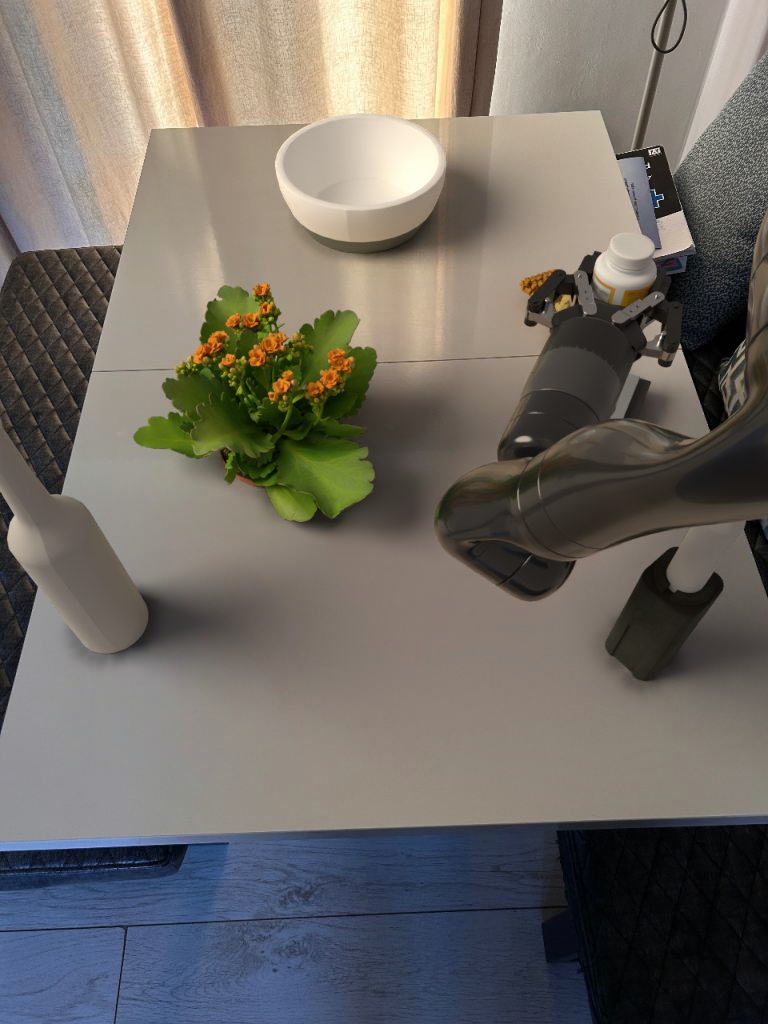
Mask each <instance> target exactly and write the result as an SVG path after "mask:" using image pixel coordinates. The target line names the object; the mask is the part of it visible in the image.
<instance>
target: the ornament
mask: <svg viewBox="0 0 768 1024" xmlns="http://www.w3.org/2000/svg"><path fill="white" fill-rule="evenodd" d="M555 270H557V268H554V269H552V270H551V269H548V270H547V271H543V272H541V273H537V274H536V275H531V276H528V277H524V280H521V281H520V282H519V286H520V288H521V289H520V290H521V291H522V292H523V293H524V294H527V295H528V297H529V298H530V297H531V296H532V295H533V294H534V293H535V291H536V290H537V289H538V288H539V287H540V286H541V285H542V284H543V283H544V282H545V280H546V279H547V278H548V277H549V276H550V275H551V274H552V273H553V272H554V271H555ZM568 307H571V304H570V298H569V295H562V296H561V297H560V298H559V300H558V301H557V302H556V303H555V304H554V305H553V309H555V310H556V312H558V311H561V310H563V309H566V308H568ZM553 309H552V310H553Z"/></svg>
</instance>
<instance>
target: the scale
mask: <svg viewBox="0 0 768 1024" xmlns="http://www.w3.org/2000/svg"><path fill="white" fill-rule="evenodd" d="M651 384H652V381H651V380H648V379H645V378H642V377H641V376H638V375H635V374H632V373H629V375H628V377H627V380H626V382H625V384H624V387H623V389H622V392H621V394H620V397H619V399H618V402H617V404H616V405H617V406H616V410H615V412H614V413H613V415H612V416H611V418H610V419H619V418H622V419H637V420H638V417H639V414H640V413H641V409H642V407H643V404H644V402H645V400H646V396H647V395H648V392H649V389H650V386H651Z"/></svg>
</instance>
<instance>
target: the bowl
mask: <svg viewBox="0 0 768 1024" xmlns="http://www.w3.org/2000/svg"><path fill="white" fill-rule="evenodd" d="M447 162H448V157H447V154H446V150H445V148H444V145H443V144H442V143H441V141H440V140H439V138H438V137H436V136H435V134H433V133H432V132H431V131H429V130H428V129H426V128H425V127H423V126H421V125H420V124H418V123H416V122H413V121H411V120H408V119H405V118H402V117H397V116H394V115H389V114H381V113H365V112H364V113H361V112H360V113H348V114H347V113H346V114H340V115H335V116H330V117H326V118H322V119H320V120H317V121H314V122H312V123H309V124H308V125H306V126H303V127H301V128H300V129H298V130H297V131H296V132H294V133H292V134H291V135H290V136H289V137H288V138H287V139H286V140H285V141H284V142H283V143H282V144H281V146H280V148H279V150H278V151H277V153H276V157H275V161H274V166H275V175H276V179H277V182H278V187H279V190H280V193H281V195H282V197H283V199H284V201H285V203H286V205H287V206H288V208H289V210H290V212H291V213H292V216H293V217H294V218H295V219H296V221H298V223H299V224H300V225H301V226H302V227H303V228H304V230H306V232H307V233H308V234H309V236H310V237H311V238H312V239H314V240H315V241H317V242H318V243H319V244H322V245H323V246H325V247H328V248H329V249H332V250H337V251H339V252H345V253H352V254H367V253H378V252H382V251H386V250H390V249H393V248H395V247H398V246H400V245H402V244H404V243H406V242H407V241H409V240H410V239H412V238H413V237H414V236H415V235H416V234H417V233H418V231H419V230H420V229H421V227H422V226H423V224H424V223H425V222H426V220H427V219H428V217H429V216H430V215H431V213H432V212H433V211H434V209H435V207H436V204H437V202H438V200H439V199H440V195H441V193H442V190H443V188H444V185H445V179H446V172H447V168H448V167H447V166H448V163H447Z"/></svg>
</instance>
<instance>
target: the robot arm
mask: <svg viewBox="0 0 768 1024" xmlns="http://www.w3.org/2000/svg"><path fill="white" fill-rule="evenodd" d="M762 217H763V218H762V220H761V223H760V227H759V230H758V232H757V236H756V240H755V244H754V248H753V253H752V260H751V266H750V273H749V282H748V299H747V313H746V315H747V316H746V328H745V329H746V330H745V344H744V361H743V393H744V400H743V402H742V404H741V405H740V407H739V408H738V409H737V410H736V411H734V413H733V414H731V415H730V416H729V417H728V418H727V419H726V420H725V421H724V422H722V423H721V424H719V425H718V426H717V427H715V428H714V429H712V430H711V431H709V432H707V433H705V434H704V435H702V436H700V437H699V438H697V437H692V436H689V435H687V434H684V433H680V432H678V431H674V430H672V429H670V428H667V427H665V426H663V425H660V424H656V423H652V422H649V421H646V420H642V419H638V418H637V419H622V418H619V419H610V418H611V416H612V415H613V413H614V412H615V410H616V406H617V405H616V404H617V402H618V399H619V397H620V394H621V392H622V389H623V387H624V384H625V382H626V380H627V377H628V375H629V374H630V372H631V370H632V367H633V364H634V363H635V362H637V361H639V360H640V359H641V358H642V357H648V358H652V359H653V358H654V359H657V365H658V366H660V367H662V368H665V369H666V368H670V367H671V366H672V365H673V362H674V361H675V360H674V359H675V357H676V355H677V352H678V350H679V347H680V345H681V337H682V325H683V323H682V322H683V312H684V311H683V310H684V305H683V304H682V303H681V302H679V301H677V300H676V301H675V300H673V301H668V300H667V298H666V296H667V294H668V292H669V289H670V286H671V283H672V276H669V275H667V272H668V269H665V268H661V267H659V269H658V270H657V274H656V277H655V281H654V283H653V286H652V288H651V290H650V293H649V295H648V296H647V297H645V298H644V299H643V300H641V299H638V300H636V301H635V302H633V303H632V304H630V305H629V306H627V307H624V306H620V305H613V304H609V303H607V302H605V301H603V300H599V299H596V298H593V293H592V287H591V285H590V282H591V278H592V274H593V270H594V266H595V263H596V260H597V258H598V257H599V256H600V255H601V254H602V253H603V252H601V251H598V250H594V251H593V253H592V254H589V253H588V254H586V255H585V256H584V257H583V258H582V261H581V262H580V265H579V267H578V268H577V270H575V271H574V272H573V273H571V274H568V273H567V272H566V270H564V269H562V268H558V269H557V268H556V269H557V270H555V271H554V272H553V273H552V274H551V275H550V276H549V277H548V278H547V279H546V280H545V282H544V283H543V284H542V285H541V286H540V287H539V288H538V289H537V290H536V291H535V293H534V294H533V295H532V296H531V297H530V296H529V298H528V299H527V302H526V307H525V313H524V319H523V324H524V325H525V326H526V327H529V328H533V327H535V326H537V325H538V324H540V325H542V326H544V327H547V328H548V330H549V335H548V337H547V339H546V341H545V344H544V346H543V347H542V349H541V351H540V353H539V355H538V356H537V359H536V361H535V363H534V365H533V367H532V369H531V370H530V373H529V375H528V377H527V379H526V381H525V383H524V386H523V388H522V391H521V395H520V398H519V402H518V403H517V405H516V407H515V409H514V412H513V414H512V416H511V417H510V419H509V420H508V423H507V425H506V427H505V429H504V431H503V433H502V435H501V437H500V440H499V443H498V445H497V448H496V449H497V450H496V459H497V461H495V462H491V463H490V462H489V463H487V464H483V465H480V466H477V467H476V468H474V469H472V470H470V471H468V472H467V473H465V474H463V475H462V476H460V477H459V478H458V479H457V480H455V481H454V482H453V483H452V484H451V485H450V486H449V487H448V489H446V491H445V492H444V494H443V495H442V497H441V499H440V501H439V502H438V504H437V507H436V509H435V513H434V517H433V529H434V534H435V537H436V539H437V542H438V544H439V545H440V547H441V548H442V549H443V550H444V552H446V553H447V554H448V555H449V556H450V557H452V558H453V559H455V560H456V561H458V562H459V563H461V564H462V565H464V566H466V567H467V568H469V569H470V570H472V571H473V572H475V573H476V574H478V575H480V576H481V577H482V578H484V579H485V580H486V581H488V582H490V583H491V584H493V585H495V586H496V588H499V589H500V590H502V591H504V592H505V593H506V594H508V595H509V596H511V597H513V598H515V599H517V600H520V601H522V602H523V601H524V602H529V603H530V602H531V603H532V602H539V601H541V600H544V599H547V598H549V597H551V596H552V595H554V594H555V593H556V592H557V591H559V590H560V589H561V588H562V587H563V586H564V584H565V583H566V582H567V581H568V579H569V578H570V576H571V574H572V572H573V571H574V569H575V567H576V564H577V560H581V559H584V558H588V557H590V556H593V555H596V554H598V553H601V552H604V551H607V550H609V549H612V548H615V547H618V546H621V545H624V544H626V543H628V542H631V541H634V540H637V539H640V538H644V537H647V536H650V535H651V536H652V535H655V534H659V533H664V532H669V531H675V530H682V529H690V528H691V527H699V526H707V525H715V524H724V523H733V522H741V521H746V522H747V521H749V522H750V521H755V520H762V519H763V520H764V519H768V207H767V208H766V210H765V212H764V215H763V216H762ZM562 295H569V298H570V304H571V307H568V308H566V309H563V310H561V311H558V312H557V311H556V312H555V313H554V312H553V305H554V304H555V303H556V302H557V301H558V300H559V298H560V297H561V296H562ZM655 321H656V322H658V323H660V324H661V325H660V326H661V327H660V333H659V334H656V335H655V336H654V338H653V339H652V340H647V337H646V335H645V333H644V329H646V328H647V327H648V326H649V325H651V324H652V323H654V322H655Z"/></svg>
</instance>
